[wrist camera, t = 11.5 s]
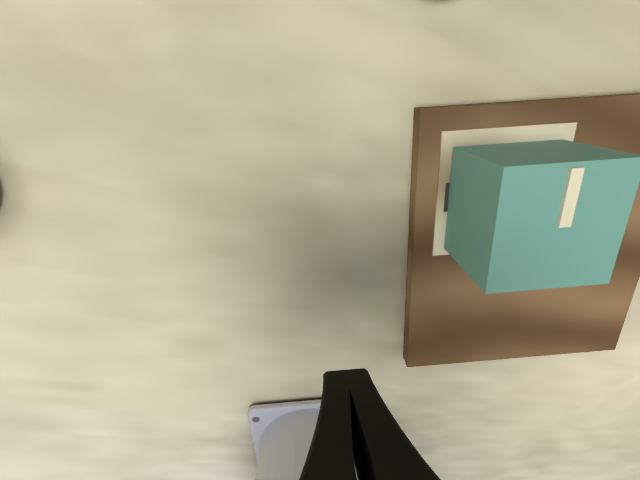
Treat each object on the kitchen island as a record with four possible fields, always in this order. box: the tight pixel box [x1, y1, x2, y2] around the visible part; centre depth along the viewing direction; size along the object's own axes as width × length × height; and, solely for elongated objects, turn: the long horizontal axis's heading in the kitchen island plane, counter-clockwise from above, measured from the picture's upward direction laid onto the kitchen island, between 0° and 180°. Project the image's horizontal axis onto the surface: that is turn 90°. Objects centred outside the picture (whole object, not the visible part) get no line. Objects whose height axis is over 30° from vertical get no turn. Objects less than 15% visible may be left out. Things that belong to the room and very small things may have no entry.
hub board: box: [403, 93, 640, 367], centre depth 20 cm, size 16×14×4 cm
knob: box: [444, 139, 640, 294], centre depth 17 cm, size 6×6×5 cm
